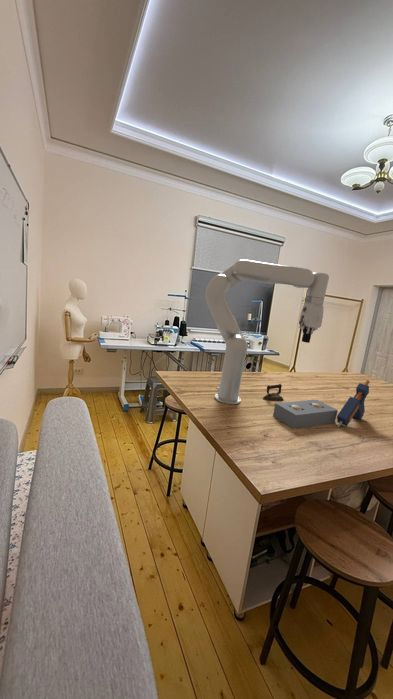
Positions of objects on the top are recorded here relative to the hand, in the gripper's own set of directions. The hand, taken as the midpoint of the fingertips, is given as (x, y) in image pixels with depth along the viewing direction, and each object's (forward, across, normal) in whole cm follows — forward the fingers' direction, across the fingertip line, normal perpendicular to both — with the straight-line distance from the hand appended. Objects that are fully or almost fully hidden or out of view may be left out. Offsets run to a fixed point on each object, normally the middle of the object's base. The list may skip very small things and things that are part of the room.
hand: (305, 341), depth 131 cm
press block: (+33, -2, -10) cm, 35 cm away
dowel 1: (+32, -8, -10) cm, 34 cm away
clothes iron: (+34, 0, +14) cm, 36 cm away
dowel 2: (+33, +4, -10) cm, 35 cm away
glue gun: (+33, +20, -17) cm, 43 cm away
